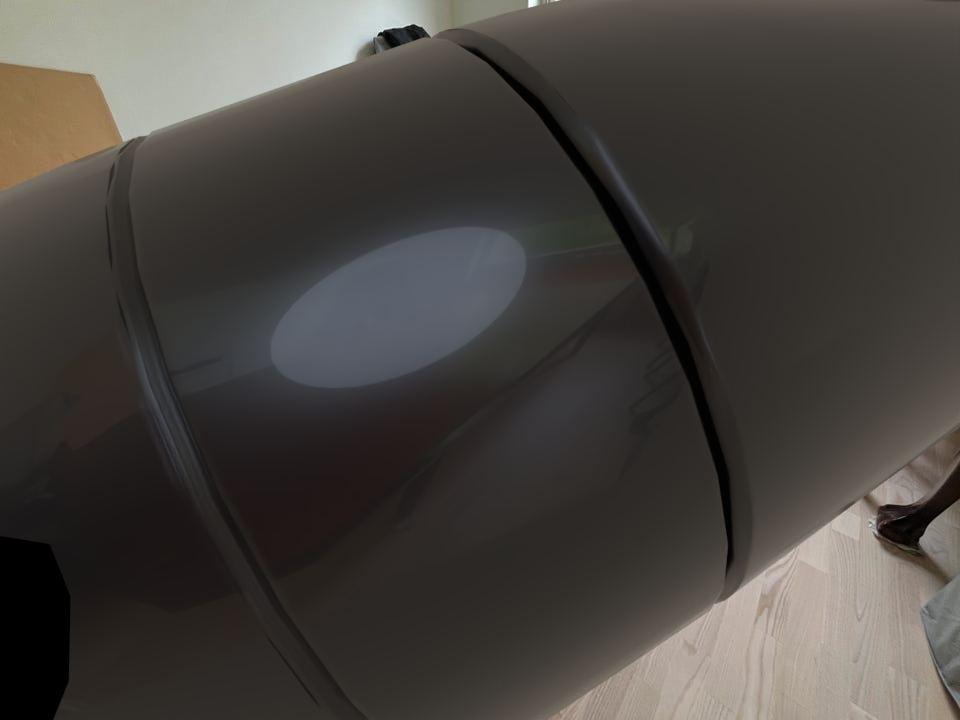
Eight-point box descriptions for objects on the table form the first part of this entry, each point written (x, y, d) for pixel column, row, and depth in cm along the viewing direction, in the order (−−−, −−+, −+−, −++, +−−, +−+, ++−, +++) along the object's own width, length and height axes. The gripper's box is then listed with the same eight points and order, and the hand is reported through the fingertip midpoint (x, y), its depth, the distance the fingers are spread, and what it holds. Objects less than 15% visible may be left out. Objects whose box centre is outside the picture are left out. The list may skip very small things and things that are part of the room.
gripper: (596, 275, 39) (443, 297, 37) (682, 355, 28) (472, 393, 26) (587, 334, 44) (450, 357, 42) (657, 422, 33) (477, 460, 31)
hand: (459, 370), depth 34 cm, fingers open, 8 cm apart
